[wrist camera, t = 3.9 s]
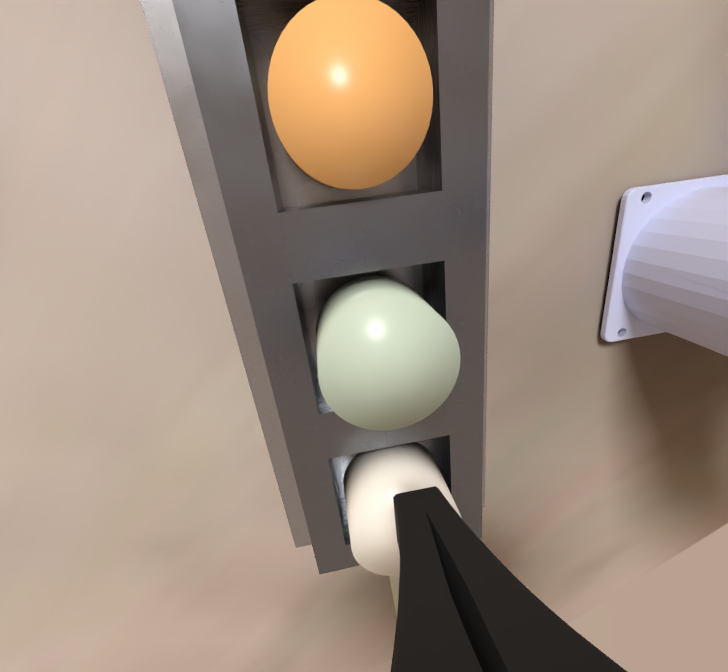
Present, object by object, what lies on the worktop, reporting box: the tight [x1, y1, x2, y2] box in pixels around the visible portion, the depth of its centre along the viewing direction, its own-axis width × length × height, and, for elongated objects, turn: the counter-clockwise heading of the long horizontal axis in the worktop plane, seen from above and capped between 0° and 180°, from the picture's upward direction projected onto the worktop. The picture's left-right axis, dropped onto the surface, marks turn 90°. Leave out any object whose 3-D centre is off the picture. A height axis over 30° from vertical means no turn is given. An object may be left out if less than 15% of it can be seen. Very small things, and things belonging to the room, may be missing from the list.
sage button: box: [316, 276, 460, 431], centre depth 13 cm, size 5×5×3 cm
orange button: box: [268, 0, 433, 189], centre depth 12 cm, size 5×5×3 cm
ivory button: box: [343, 442, 462, 576], centre depth 17 cm, size 5×5×3 cm
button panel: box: [140, 0, 494, 574], centre depth 16 cm, size 12×28×4 cm, turn 7°
